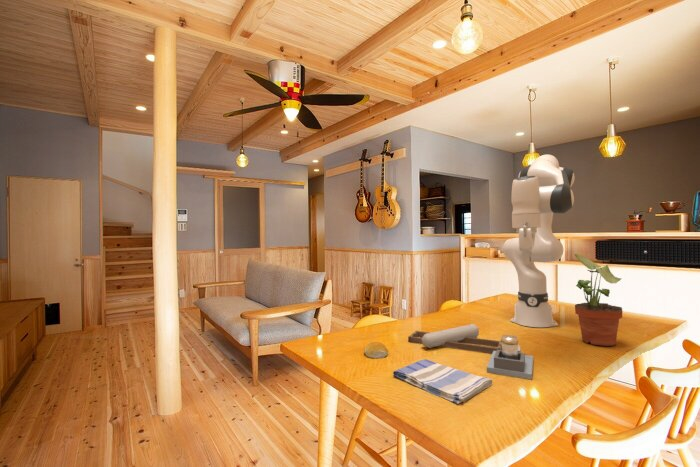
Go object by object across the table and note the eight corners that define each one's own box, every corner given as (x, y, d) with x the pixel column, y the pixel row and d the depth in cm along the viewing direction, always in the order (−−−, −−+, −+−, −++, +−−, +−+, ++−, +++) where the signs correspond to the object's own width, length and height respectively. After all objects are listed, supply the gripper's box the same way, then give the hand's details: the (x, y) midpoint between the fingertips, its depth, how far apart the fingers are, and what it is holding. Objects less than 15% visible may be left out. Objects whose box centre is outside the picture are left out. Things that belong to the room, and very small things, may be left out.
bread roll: (384, 349, 126) (383, 338, 126) (390, 358, 117) (390, 346, 117) (362, 351, 125) (361, 340, 125) (366, 359, 116) (366, 348, 116)
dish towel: (460, 408, 83) (459, 397, 83) (390, 378, 102) (390, 369, 102) (495, 386, 94) (495, 376, 94) (427, 363, 113) (426, 354, 113)
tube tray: (415, 335, 141) (415, 330, 141) (502, 346, 124) (502, 341, 124) (408, 342, 133) (408, 336, 133) (500, 354, 117) (500, 349, 117)
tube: (429, 339, 121) (480, 328, 132) (420, 331, 125) (470, 321, 136) (426, 352, 122) (477, 340, 133) (417, 343, 127) (467, 332, 138)
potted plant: (570, 344, 125) (568, 249, 125) (578, 334, 136) (576, 247, 136) (625, 353, 114) (622, 249, 114) (629, 342, 125) (626, 247, 125)
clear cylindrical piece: (505, 360, 107) (504, 334, 107) (521, 365, 104) (520, 337, 104) (498, 365, 104) (498, 337, 104) (515, 369, 100) (514, 340, 100)
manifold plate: (493, 354, 117) (493, 341, 117) (533, 360, 111) (532, 346, 111) (486, 372, 103) (486, 357, 103) (531, 379, 97) (531, 363, 97)
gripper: (535, 221, 106) (537, 266, 106) (537, 222, 124) (538, 260, 124) (513, 222, 110) (514, 265, 110) (518, 223, 127) (519, 260, 127)
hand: (527, 263), depth 117 cm, fingers open, 8 cm apart
